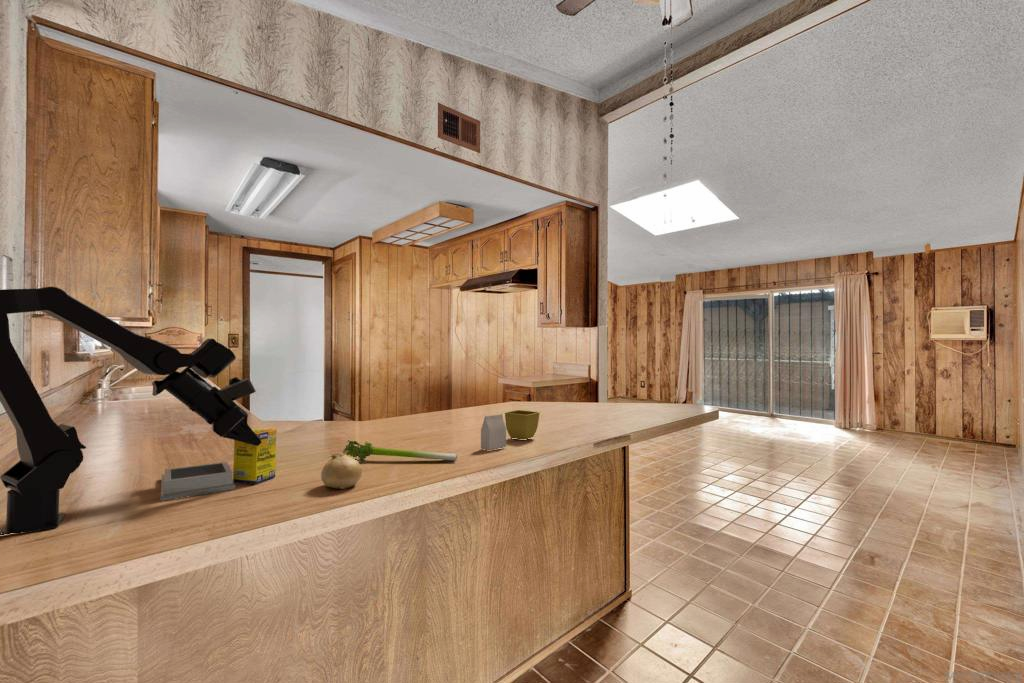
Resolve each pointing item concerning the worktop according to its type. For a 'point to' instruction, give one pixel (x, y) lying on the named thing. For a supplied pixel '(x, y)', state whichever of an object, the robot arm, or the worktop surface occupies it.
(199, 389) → the robot arm
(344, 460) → the onion
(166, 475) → the gray rectangular tray
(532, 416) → the flower pot
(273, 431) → the supplement box
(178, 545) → the worktop surface
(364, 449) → the green celery stalk
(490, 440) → the grey gable carton
